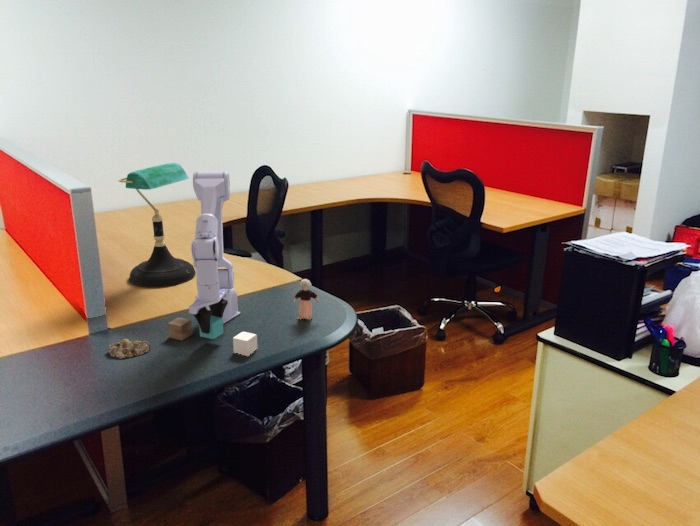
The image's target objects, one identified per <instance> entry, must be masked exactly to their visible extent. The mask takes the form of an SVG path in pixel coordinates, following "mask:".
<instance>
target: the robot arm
mask: <svg viewBox="0 0 700 526" xmlns="http://www.w3.org/2000/svg"><path fill="white" fill-rule="evenodd" d="M192 187H193V191H194V194H195V197H197V200H198V201H200V213H201V214H200V215H199V216H198V217H197V218H196V221H195V222H196V224H195V231H194V234H195V235H194V240H192V242H191V249H190V250H191V251H190V252H191V257H192V260H193V267H194V269H195V273H196V274H195V277H196V278H195V280H196V290H197V295H195V300H194V301H193V303H192V304H191V305H189V306H188V313H189V314H191V315H193V317H194V318H195V320H196V322H197V323H198V326H200V328H201V331H202V333H206V334H208V333H209V332H210V318H211V316H216V317H221V318H223V325H224V324H225V323H227V322H229V321H231V320H232V319H234V318H235V317H237V316H239V315H240V314H241V311H239V307H238V294H237V290H236V289H235V288H234V287H235V271H234V265H233V263H232V262H231V261H230V260H228V259H227V258H225V257H224V234H223V233H224V232H223V231H224V229H223V227H224V226H223V225H224V224H223V207H224V203H226V202H227V201H229V200H230V196H231V195H230V174H229V172H228V171H227V170H223V171H194V172H193V174H192Z"/></svg>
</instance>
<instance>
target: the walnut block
mask: <svg viewBox="0 0 700 526" xmlns="http://www.w3.org/2000/svg"><path fill="white" fill-rule="evenodd" d="M167 327H168V337H169V338H170V339H174V340H178V341H183V340H185V339H187V338H189V337H190V336H193V324H192V319H189V318H184V317H176V318H174V319H173V320H171V321H169V322H167Z"/></svg>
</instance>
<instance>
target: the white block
mask: <svg viewBox="0 0 700 526" xmlns="http://www.w3.org/2000/svg"><path fill="white" fill-rule="evenodd" d="M232 346H233V353H234V354H236V353H238V354H237V355H240V354H241V356H246V357H250V354H251V355H252V354H253V353H255V352H256V351H257V350H258V335H257V333H256V334H255V333H252V332H248V331H241V332H240V333H238V334H237V335H235V336H233V337H232ZM256 349H257V350H256ZM255 350H256V351H255ZM254 351H255V352H254Z"/></svg>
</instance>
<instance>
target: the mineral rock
mask: <svg viewBox="0 0 700 526" xmlns="http://www.w3.org/2000/svg"><path fill="white" fill-rule="evenodd" d="M151 349H152V348H151V344H149V342H148V341H145V340H142V341H141V340H131V341H130V339H129V338H124V339H122V341H118V342H113V343H112V344H109V345H108V352H109V355H110V356H111V357H113V358H116V359H119V360H121V359H126V358H132V357H135V356H141V355H143V354H145V353H148V352H149V351H151Z"/></svg>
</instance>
